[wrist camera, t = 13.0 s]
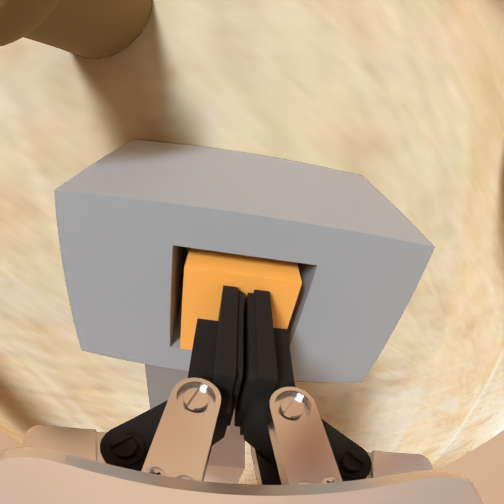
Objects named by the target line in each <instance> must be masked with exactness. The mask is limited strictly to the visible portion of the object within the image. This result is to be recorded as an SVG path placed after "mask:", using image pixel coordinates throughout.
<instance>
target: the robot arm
mask: <svg viewBox="0 0 504 504" xmlns="http://www.w3.org/2000/svg"><path fill="white" fill-rule="evenodd" d="M234 409H235V418H234V425H235V426H237V427H240V435H244V440H245V441H247V442H248V443H249V444H250V445H251V454H252V459H253V464H254V469H255V474H256V479H257V484H258V485H250V484H230V483H217V482H207V481H204V478H205V474H206V470H207V466H208V462H209V458H210V454H211V450H212V446H213V445H214V444H215V443H217V442H218V441H220V440H221V439H223V438H224V437H225V433H226V429H227V426H230V424H231V420H232V417H233V413H234ZM0 504H482V501H481V498H480V496H479V494H478V491H477V489H476V488H475V486H474V484H473V483H472V482H471V481H470V480H469V479H468V478H467V477H465V476H463V475H461V474H458V473H454V472H450V471H444V470H433V469H432V465H431V463H430V461H429V460H428V459H427V458H426V457H424V456H423V455H419V454H406V453H393V452H382V451H373V452H372V453H369V452H366V451H365V450H364V449H363V448H361V447H360V446H359V445H357V444H356V443H354V442H353V441H351V440H350V439H349V438H347V437H346V436H344V435H343V434H342V433H340V432H339V431H337V430H336V429H335V428H333V427H332V426H331V425H329V424H328V423H326V422H325V421H324V420H322V419H321V417H320V414H319V411H318V409H317V406H316V403H315V401H314V399H313V397H312V396H311V395H310V394H309V393H308V392H306V391H304V390H302V389H300V388H296V387H295V383H294V375H293V368H292V361H291V353H290V346H289V339H288V333H287V330H286V329H282V328H273V319H272V308H271V298H270V292H269V291H263V290H256V289H255V290H254V292H253V293H248V294H247V299H246V304H245V309H244V292H240V291H238V287H233V286H225V285H223V290H222V297H221V304H220V311H219V317H218V321H214V320H207V319H200V318H198V319H197V324H196V330H195V336H194V342H193V348H192V354H191V360H190V366H189V372H188V378H187V379H184V380H181V381H180V382H178V383H177V384H176V385H175V386H174V388H173V389H172V391H171V394H170V396H169V399H168V400H167V401H165V402H163V403H161V404H159V405H158V406H156V407H154V408H152V409H150V410H148V411H146V412H145V413H143V414H141V415H139V416H137V417H135V418H133V419H131V420H129V421H127V422H125V423H123V424H121V425H119V426H117V427H115V428H113V429H111V430H110V431H108V432H107V433H106V432H96V430H94V429H79V428H68V427H58V426H49V425H35V426H33V427H31V428H30V429H29V430H28V431H27V432H26V434H25V437H24V443H23V447H17V448H10V449H6V450H2V451H0Z"/></svg>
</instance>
